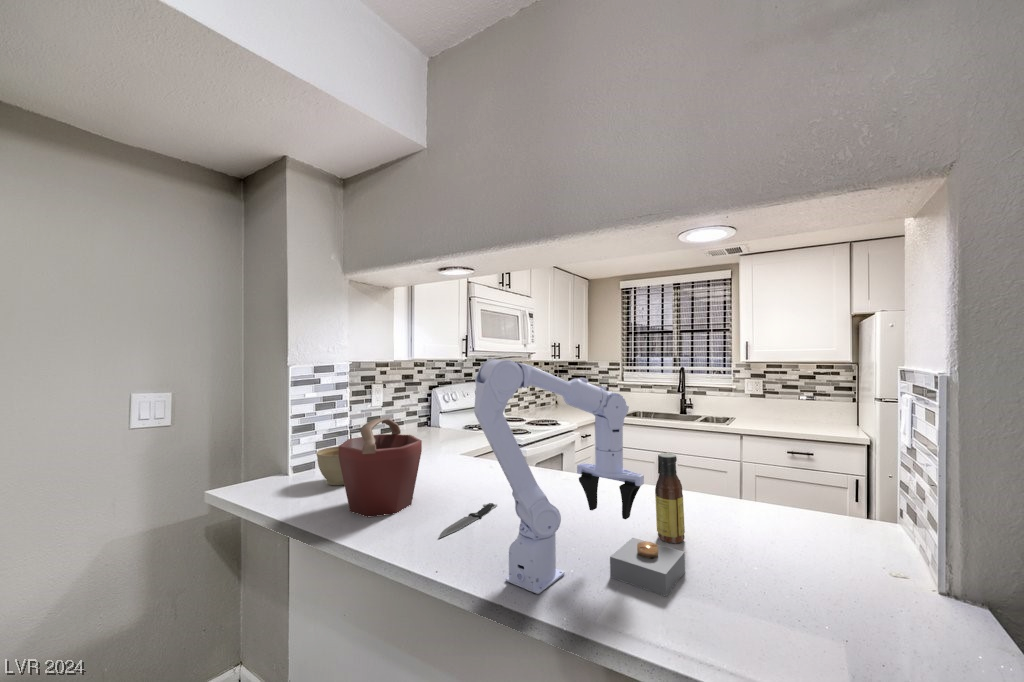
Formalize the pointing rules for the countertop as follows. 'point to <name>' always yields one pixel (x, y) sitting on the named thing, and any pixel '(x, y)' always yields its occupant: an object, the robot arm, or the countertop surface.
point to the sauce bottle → (669, 501)
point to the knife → (467, 519)
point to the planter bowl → (330, 465)
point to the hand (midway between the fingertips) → (609, 513)
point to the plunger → (647, 549)
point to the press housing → (648, 567)
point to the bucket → (380, 469)
